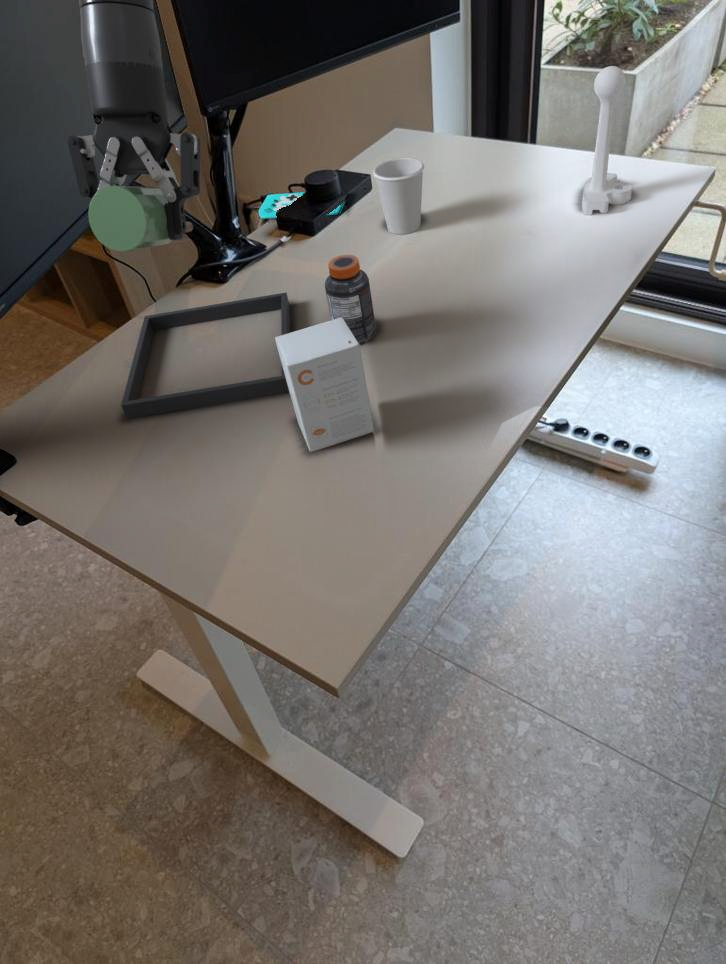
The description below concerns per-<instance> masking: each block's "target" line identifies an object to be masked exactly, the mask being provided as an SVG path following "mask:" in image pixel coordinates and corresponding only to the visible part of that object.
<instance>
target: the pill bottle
mask: <svg viewBox="0 0 726 964" xmlns="http://www.w3.org/2000/svg"><path fill="white" fill-rule="evenodd" d="M327 265H328V266H327V267H328V274H329V275H328V276H327V277H326V279H325V281H324V290H325V296H326V301H327V305H328V311H329V314H330V319H331V320H334V319H337V318H340V317H342V318H343V320H344V321H345V323H346V324H347V326H348V328H349V329H350V331H351V332H352V334H353V336H354V337H355V339H356V340H357V342H358V343H359V344H360V346H361V345H364V344H366V343H368V342H370V341H372V339H373V338H374V337H375V336H376V334H377V325H376V318H375V311H374V306H373V305H374V304H373V298H372V292H371V286H370V279H369V276H368V274H367V273H366V272H365V271H364V270H362V269H361V265H360V261H359V258H358V257H357V256H356V255H353V254H341V255H337V256H335V257H333V258H331V260H329V262H328V264H327ZM331 320H330V321H331Z"/></svg>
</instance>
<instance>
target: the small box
mask: <svg viewBox="0 0 726 964" xmlns="http://www.w3.org/2000/svg"><path fill="white" fill-rule="evenodd" d="M274 340H275V344H276V348H277V351H278V354H279V359H280V363H281V367H282V366H283V370H284V374H285V377H286V381H287V385H288V388H289V396H290V399H291V403H292V406H293V410H294V413H295V417H296V421H297V423H298V426H299V429H300V431H301V433H302V436H303V438H304V440H305V443H306V446H307V448H308V450H309V452H311V453H312V452H316V451H319V450H322V449H326V448H328V447H331V446H334V445H338V444H341V443H344V442H346V441H351V440H353V439H357V438H358V437H362V436H364V435H368V434H370V433H373V436H375V435H376V434H375V429H374V422H373V415H372V408H371V403H370V397H369V390H368V386H367V385H368V384H367V381H366V375H365V369H364V363H363V356H362V351H361V345H360V342H357V340H356V339H355V337H354V336H353V334H352V332H351V331H350V329H349V328H348V326H347V324H346V323H345V321H344V320H343V318H342V317H340V318H337V319H334V320H327V321H324V322H321V323H318V324H315V325H311V326H308V327H304V328H302V329H301V328H300V329H298V330H295V331H290V333H288V334H284V335H282V334H281V335H278V336H275V338H274Z"/></svg>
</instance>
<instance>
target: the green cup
mask: <svg viewBox="0 0 726 964" xmlns="http://www.w3.org/2000/svg"><path fill="white" fill-rule="evenodd" d="M165 203H168V201H167V199H166V198H165V196H164V194H163V193H162V191H161V189H160V187H155V186H140V185H138V186H137V185H121V186H109V187H105V188H103V189H101V190H99V191H98V192H97V193H96V194H95V195H94V197H93V198H91V199H90V202H89V205H88V213H87V214H88V223H89V226H90V228H91V230H92V233H93V235H94V236H95V238H96V239H97V240H98V242H99V243H101V244H102V245H103V246H104V247H106V248H108V250H109V249H110V250H112V251H114V252H115V251H116V252H124V253H125V252H132V251H139V250H146V249H151V248H158V247H162V246H166V245H169V244H170V243H171V241H173V240H170V239H169V235H168V226H167V217H166V209H165Z"/></svg>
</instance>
